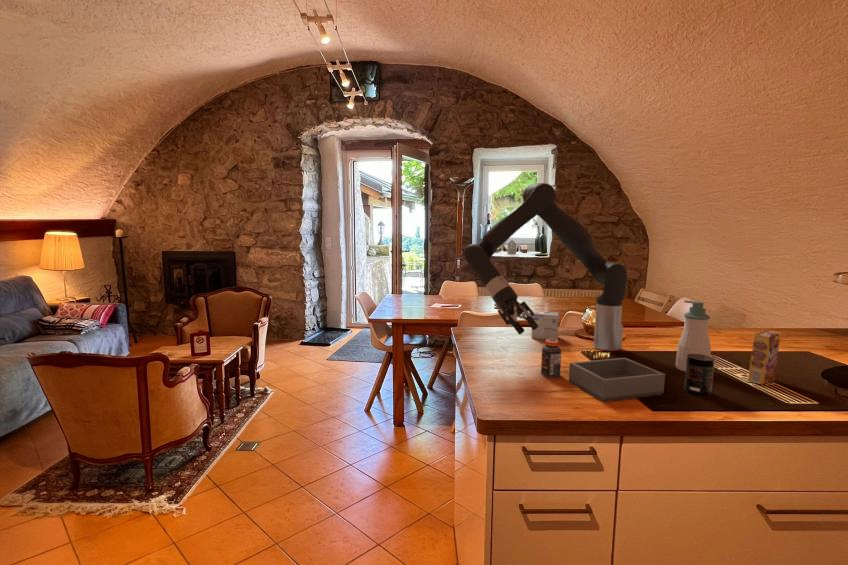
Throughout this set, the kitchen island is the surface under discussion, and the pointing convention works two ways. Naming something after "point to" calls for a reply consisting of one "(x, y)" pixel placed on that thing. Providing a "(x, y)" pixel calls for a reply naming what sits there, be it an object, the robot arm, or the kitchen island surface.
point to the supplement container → (699, 374)
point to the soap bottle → (693, 335)
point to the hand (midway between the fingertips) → (529, 330)
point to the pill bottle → (551, 359)
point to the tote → (616, 379)
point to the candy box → (764, 357)
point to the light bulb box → (546, 325)
